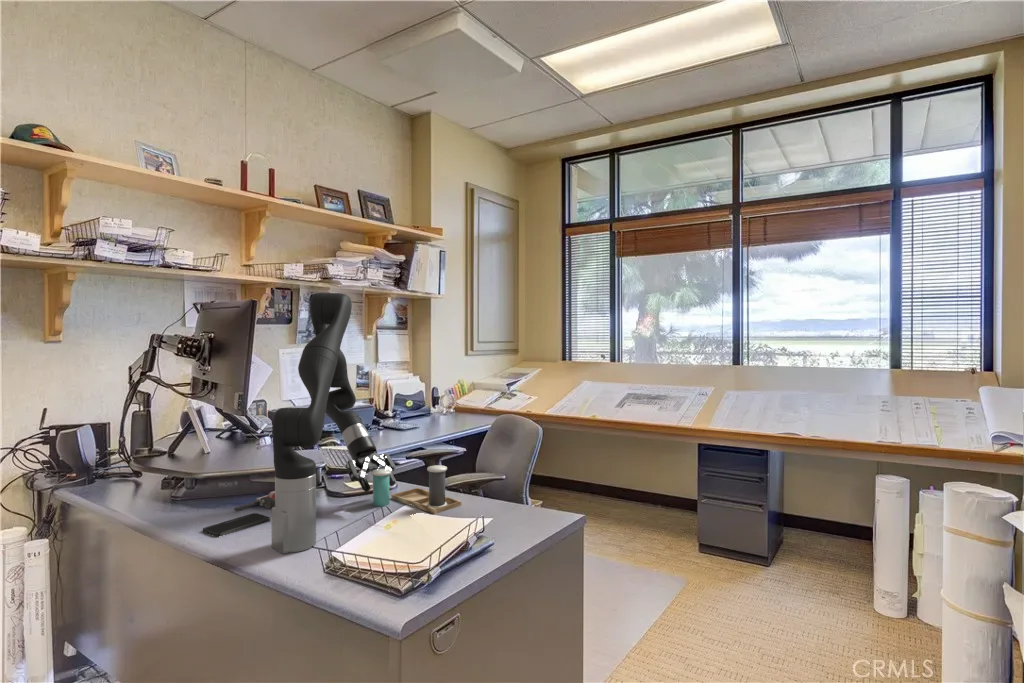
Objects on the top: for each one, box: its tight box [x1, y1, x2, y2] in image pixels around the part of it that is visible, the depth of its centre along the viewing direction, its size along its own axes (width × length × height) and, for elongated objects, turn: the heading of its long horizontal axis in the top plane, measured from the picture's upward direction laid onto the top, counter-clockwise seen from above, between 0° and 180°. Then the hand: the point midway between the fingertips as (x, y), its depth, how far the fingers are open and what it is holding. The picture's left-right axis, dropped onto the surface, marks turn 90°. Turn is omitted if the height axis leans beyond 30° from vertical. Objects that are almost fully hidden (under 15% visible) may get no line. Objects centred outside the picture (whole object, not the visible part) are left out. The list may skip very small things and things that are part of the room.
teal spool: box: [370, 469, 391, 508], centre depth 163 cm, size 6×6×11 cm
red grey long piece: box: [233, 490, 275, 512], centre depth 167 cm, size 9×4×20 cm
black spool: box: [426, 464, 448, 509], centre depth 162 cm, size 6×6×11 cm
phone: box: [202, 512, 271, 538], centre depth 149 cm, size 8×1×15 cm
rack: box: [390, 487, 463, 515], centre depth 166 cm, size 20×10×3 cm, turn 48°
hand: (381, 487), depth 163 cm, fingers open, 8 cm apart
